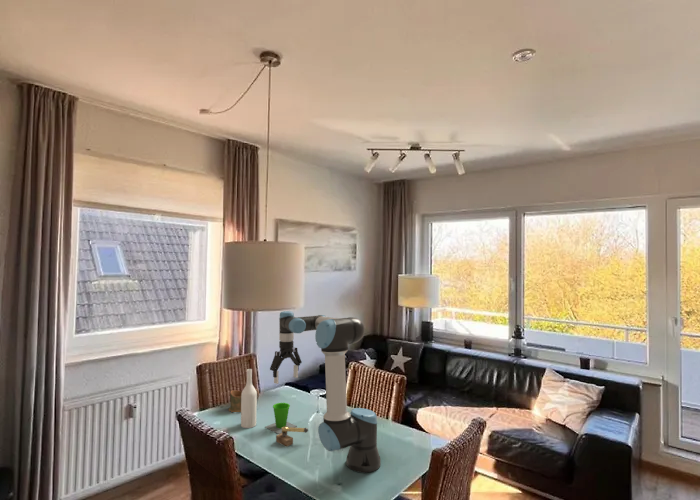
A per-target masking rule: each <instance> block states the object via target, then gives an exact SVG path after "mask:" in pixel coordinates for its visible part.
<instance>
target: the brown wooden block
mask: <svg viewBox="0 0 700 500" xmlns="http://www.w3.org/2000/svg"><path fill="white" fill-rule="evenodd" d="M275 442H277V443H278V444H280V445H281V446H283V447H286V448H287V447H289V446H291V445H293V444H294V437H292V436H291V435H288V432H286V433H283V432H282V433H281V434H277V435H275Z"/></svg>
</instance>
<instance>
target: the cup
mask: <svg viewBox="0 0 700 500" xmlns="http://www.w3.org/2000/svg"><path fill="white" fill-rule="evenodd" d="M290 406H291V405H290V403H288V402H278V403H274V404H273V406H272V408H273V413H274V420H275V422H274V423H276V427H277V428H282V427H283V426H286V423H287V422H288V416H289V409H290Z"/></svg>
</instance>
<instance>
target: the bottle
mask: <svg viewBox="0 0 700 500" xmlns="http://www.w3.org/2000/svg"><path fill="white" fill-rule="evenodd" d="M255 389H256V388H255V386H254V385H253V369H252V368H248V369H246V385H245V387H243V389H242V394H241V413H240V426H241V428H244V429H252V428H254V427H256V426H257V407H258V406H257V400H258V399H257V397H258V391H256V390H255Z"/></svg>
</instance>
